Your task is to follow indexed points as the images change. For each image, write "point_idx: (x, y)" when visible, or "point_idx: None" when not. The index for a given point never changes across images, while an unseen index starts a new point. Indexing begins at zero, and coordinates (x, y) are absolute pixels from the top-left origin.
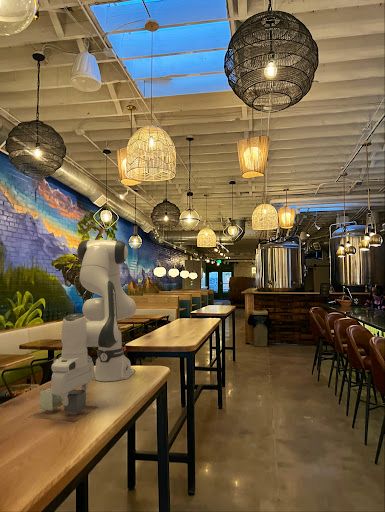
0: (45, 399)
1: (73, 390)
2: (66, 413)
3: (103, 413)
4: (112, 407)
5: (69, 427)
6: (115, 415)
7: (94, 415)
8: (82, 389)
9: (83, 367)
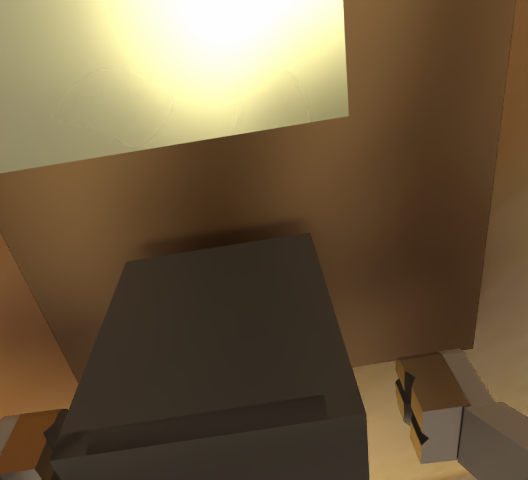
0: None
1: (299, 462)
2: (201, 205)
3: (384, 401)
4: (524, 380)
5: (47, 381)
6: (372, 472)
7: None
8: (487, 441)
9: None
